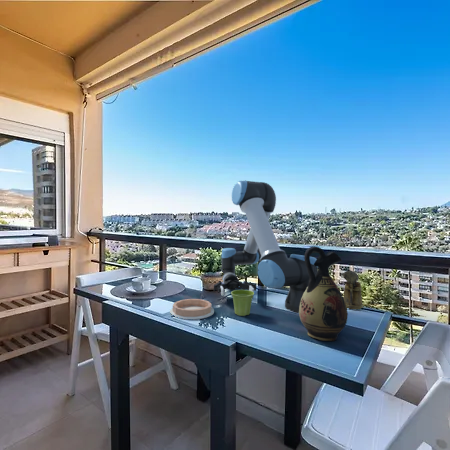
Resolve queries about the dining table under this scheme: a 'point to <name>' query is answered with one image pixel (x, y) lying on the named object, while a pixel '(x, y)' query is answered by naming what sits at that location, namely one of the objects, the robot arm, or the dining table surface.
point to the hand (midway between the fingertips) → (238, 292)
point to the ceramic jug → (322, 299)
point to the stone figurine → (352, 291)
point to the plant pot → (242, 301)
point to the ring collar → (192, 309)
